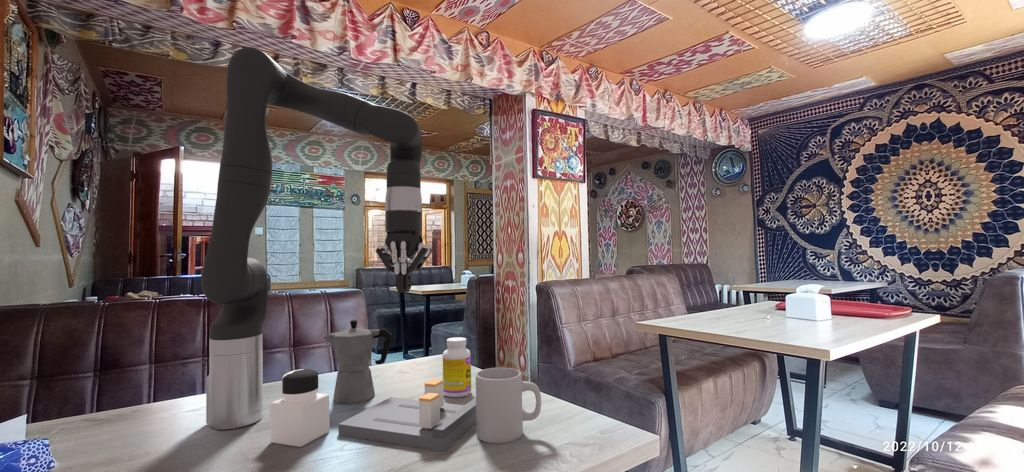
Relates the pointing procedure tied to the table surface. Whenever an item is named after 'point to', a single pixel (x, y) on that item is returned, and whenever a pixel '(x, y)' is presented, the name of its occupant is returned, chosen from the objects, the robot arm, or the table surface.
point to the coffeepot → (356, 362)
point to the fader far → (435, 389)
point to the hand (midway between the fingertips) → (403, 292)
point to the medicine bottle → (299, 410)
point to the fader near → (429, 410)
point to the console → (410, 424)
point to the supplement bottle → (456, 368)
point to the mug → (502, 404)
